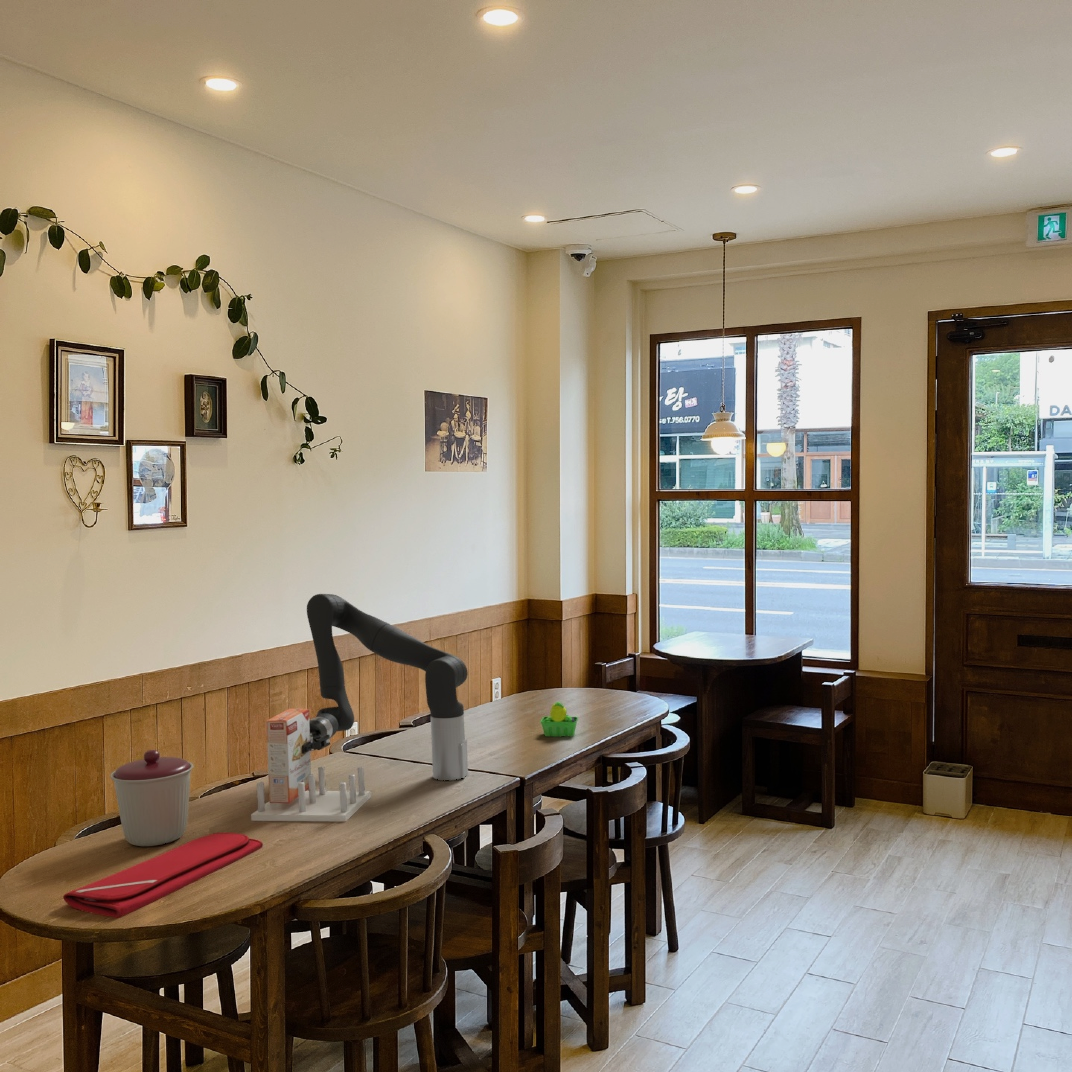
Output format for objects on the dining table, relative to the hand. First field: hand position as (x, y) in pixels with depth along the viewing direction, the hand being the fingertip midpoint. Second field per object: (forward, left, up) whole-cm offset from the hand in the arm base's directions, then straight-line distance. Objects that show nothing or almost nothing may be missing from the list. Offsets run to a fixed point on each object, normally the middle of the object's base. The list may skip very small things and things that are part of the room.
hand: (290, 749), depth 256 cm
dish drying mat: (+9, +46, -16) cm, 49 cm away
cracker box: (0, 0, -12) cm, 12 cm away
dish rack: (-5, +1, -15) cm, 16 cm away
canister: (+24, +25, -15) cm, 38 cm away
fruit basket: (-59, -76, -15) cm, 98 cm away
